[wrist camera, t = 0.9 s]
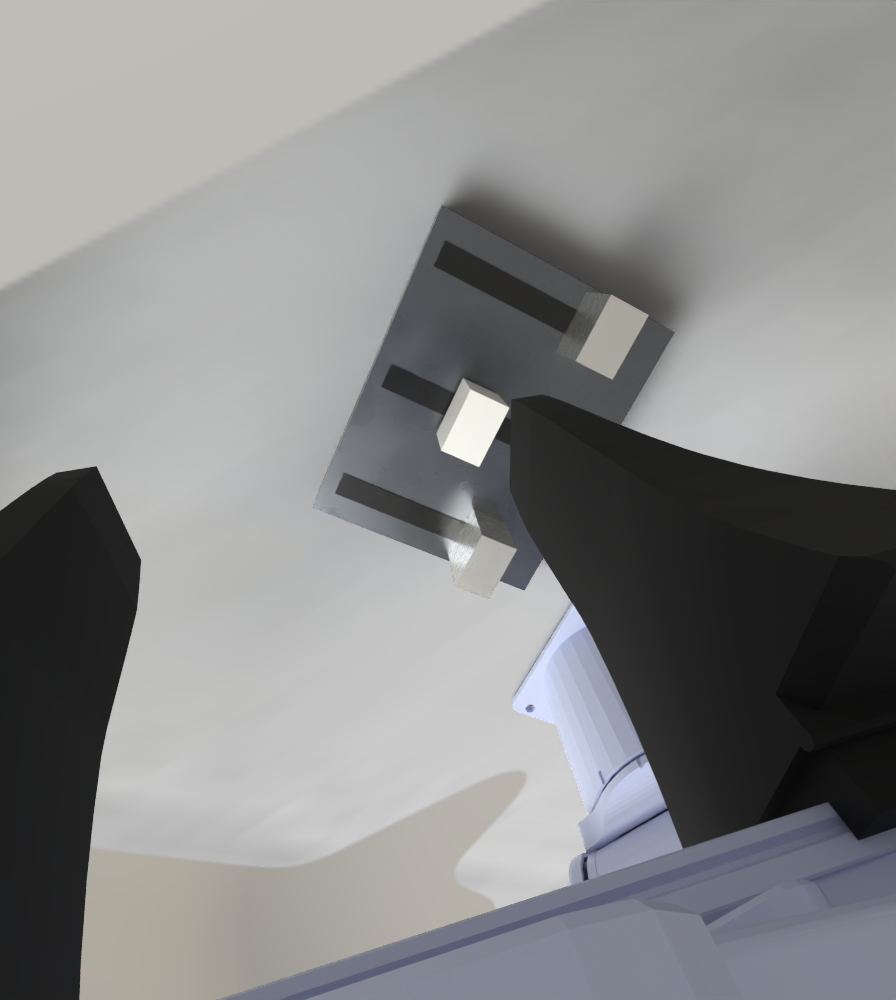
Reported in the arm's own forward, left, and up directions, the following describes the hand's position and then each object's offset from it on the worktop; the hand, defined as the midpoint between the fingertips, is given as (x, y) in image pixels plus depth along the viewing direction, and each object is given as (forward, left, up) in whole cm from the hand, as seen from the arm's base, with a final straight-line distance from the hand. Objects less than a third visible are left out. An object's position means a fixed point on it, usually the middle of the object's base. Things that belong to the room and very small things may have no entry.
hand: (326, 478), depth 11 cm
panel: (-6, 0, -16) cm, 17 cm away
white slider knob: (-5, 0, -13) cm, 14 cm away
